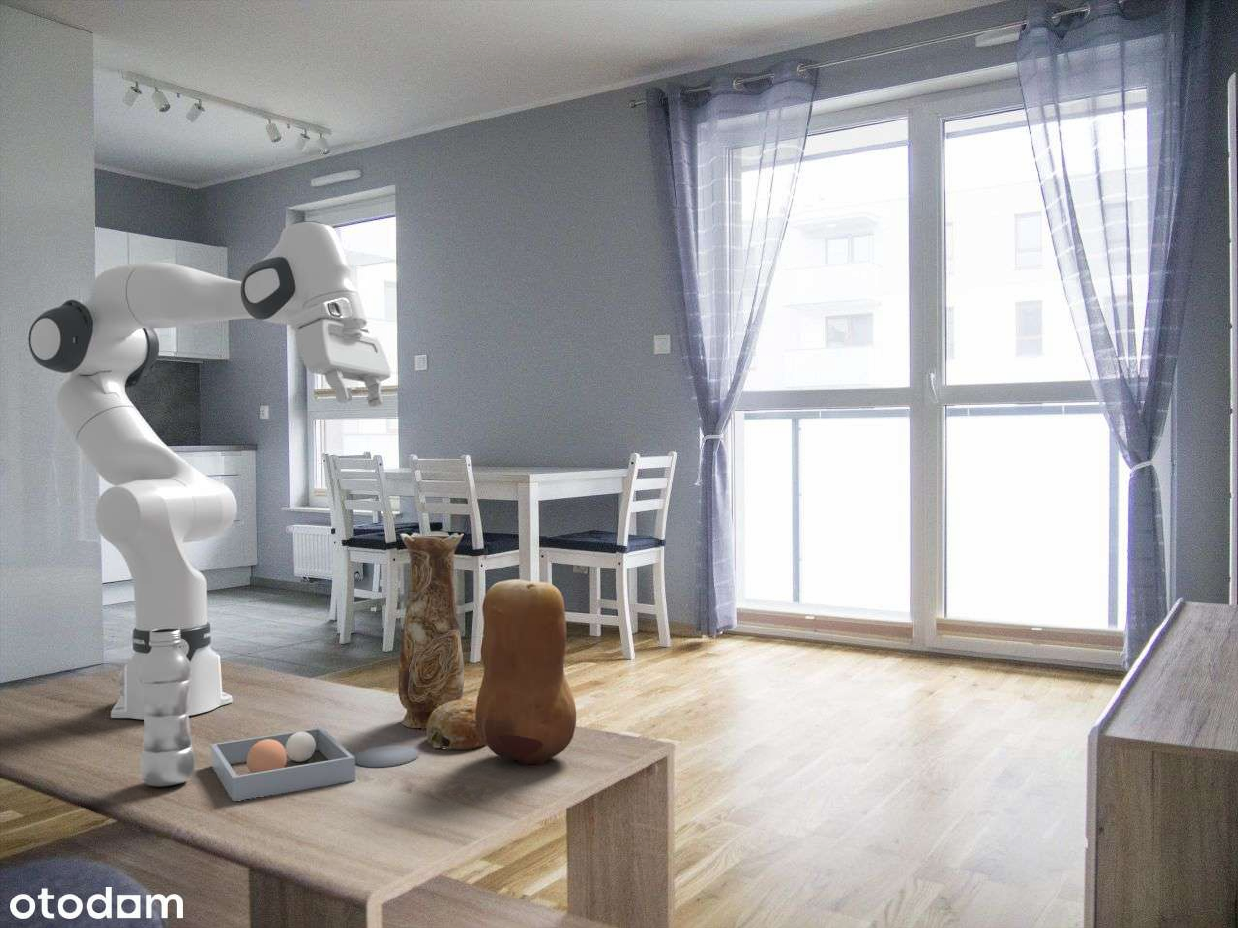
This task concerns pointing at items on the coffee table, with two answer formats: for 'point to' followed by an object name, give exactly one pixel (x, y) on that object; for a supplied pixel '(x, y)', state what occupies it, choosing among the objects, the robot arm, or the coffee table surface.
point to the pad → (385, 756)
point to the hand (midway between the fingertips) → (361, 403)
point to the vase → (430, 629)
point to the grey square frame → (282, 779)
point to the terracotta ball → (266, 756)
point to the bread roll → (454, 726)
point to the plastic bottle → (166, 711)
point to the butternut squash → (524, 673)
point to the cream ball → (300, 746)
